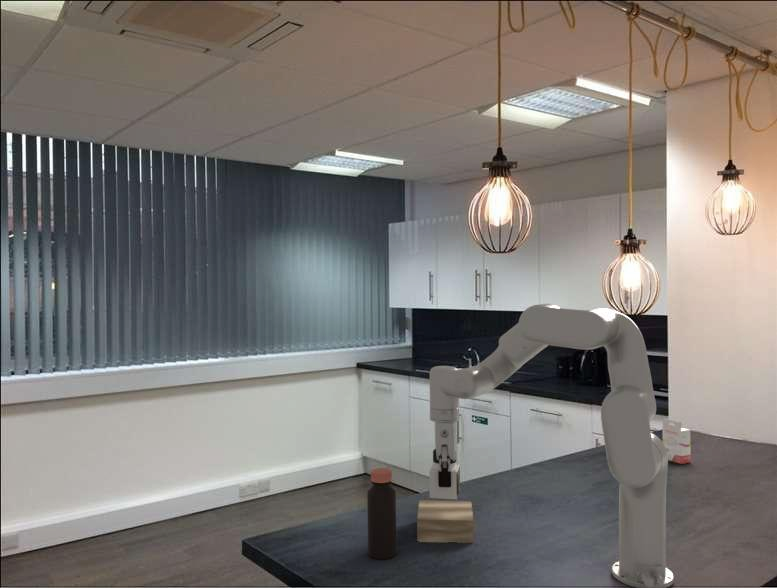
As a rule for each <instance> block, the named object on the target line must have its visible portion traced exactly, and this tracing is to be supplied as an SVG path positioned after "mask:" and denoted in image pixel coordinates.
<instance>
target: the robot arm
mask: <svg viewBox="0 0 777 588" xmlns="http://www.w3.org/2000/svg"><path fill="white" fill-rule="evenodd" d="M518 319H519V320H518V323H516V324H515V325H514V326H512V327H511V328H510V329H509V330H508V331H506V332H505V333H504V334H502V335H501V336H500V337H499V339H498V347H497V348H496V349H495V350H494V351H493V352H492V353H491V354H490V355H488V356H487V357H486V358H485V359H484V360H482V361H481V362H480V363H478V364H477V365H474V366H469V367H465V368H461V369H458V368H457V367H455V366H451V365H450V366H449V365H437V366H434V367H433V366H432V367H431V369H430V370H429V420H430V421H431V422H433V423H434V445H435V447H434V448H435V449H436V456H437V460H438V461H439V471H438V486H439V487H451V471H450V459H451V460H453V461H455V460H456V461H457V449H456V447H457V446H456V444H457V443H456V442H457V441H456V440H457V439H456V436H457V435H456V432H457V431H456V423H457V422H458V421H460V399H462V400H471V399H474V398H478V397H479V396H482V395H484V394H487V393H489V392H491V391H493V390H494V389H495V388H497V387H498V386H499V385H500V384H502V383H503V382H504V381H506V380H507V379H509V378H510V377H511V376H512V375H513V374H515V373H516V372H517V371H518V370H520V369H521V368H522V366H523V365H525V364H526V363H527V362H528V361H530V360H531V359H532V358H534V357H535V356H536V355H538V354H539V353H540V352H541V351H543V350H544V349H545V348H547V347H548V346H553V347H561V348H568V349H576V350H590V351H591V350H595V349H598V348H602V347H604V348H605V350H606V353H607V370H608V373H609V374H608V375H609V382H610V392H609V393H607V395H606V396H605V398H604V399H603V401H602V403H601V408H600V409H601V410H600V421H601V428H602V434H603V440H604V447H605V454H606V461H607V465H608V468H609V471H610V473H611V475H612V476H613V478H614V479H615V480H616V481H617V482H618V483H619V490H618V491H619V492H618V498H619V499H618V545H619V547H618V548H619V549H618V559H619V560H618V561H617V562H615V563H614V564H612V566H611V574H612V576H613V577H614V578H615V579H617V581H619V582H620V583H622V584H624V585H627V586H630V587H633V588H669V587H671V586H672V585H673V584H674V581H675V580H674V579H675V578H674V577H675V576H674V574H673V572H672V571H671V570H670V569H668V567H667V551H666V550H667V542H666V541H667V537H666V536H667V535H666V532H667V527H666V526H667V525H666V524H667V514H666V513H667V479H668V465H669V460H668V455H667V450H666V448H665V445H664V444H663V440H662V439H661V438H660V437H659V436H657V435H656V434H655V433H653V432H651V431H652V430H651V423H650V422H651V421H652V420H653V419H654V417H655V416H656V413H657V402H656V401H657V400H656V398H655V393H654V387H653V380H652V375H651V368H650V364H649V358H648V353H647V351H648V350H647V348H646V343H645V340H644V336H643V334H642V332H641V330H640V328H639V327H638V325H637V324H636V323H635V321H633V320H632V319H631V318H630V317H629V316H627V315H625V314H624V313H621V312H619V311H617V310H613V309H610V308H603V307H598V308H591V309H586V310H584V309H583V310H582V309H571V308H561V307H559V306H558V305H556V304H553V303H541V304H535V305H531V306H528V307H527V308H525V310H523V312H522V313H521V314H520V317H519V318H518ZM448 454H449V459H447V457H448ZM441 457H442V459H441ZM441 462H442V463H441ZM447 462H448V463H447Z"/></svg>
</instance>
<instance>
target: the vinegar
mask: <svg viewBox="0 0 777 588" xmlns="http://www.w3.org/2000/svg"><path fill="white" fill-rule="evenodd" d="M370 481H371V484H372V486H371V487H370V488H369V489H368V490H367V493H366V495H367V496H366V497H367V498H366V499H367V500H366V501H367V554H368V556H370V557H371V558H372V559H375V560H388V559H391V558H394V556H396V554H397V513H396V512H397V498H396V497H397V496H396V495H397V494H396V493H397V492H396V489H394V488H393V487H392V485H391V484H392V470H391V469H390V468H381V467H379V468H374V469H371V471H370Z"/></svg>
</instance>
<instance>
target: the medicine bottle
mask: <svg viewBox="0 0 777 588" xmlns="http://www.w3.org/2000/svg"><path fill="white" fill-rule="evenodd" d="M441 459H442V457H441ZM447 459H449V454H448V457H447ZM432 462H433V463H432V465H431V467H430V469H429V472H428V473H429V498H430V499H442V500H458V497H459V494H460V492H461V491H460V490H461V474H460V473H461V472H460V471H461V469H460V467H461V465H460V464H459V463H458V464H457V459H456V460H455V461H453V460H451V459H450V471H451V487H439V486H438V471H439V461H438V460H437V456H436V448H434V449H433V451H432ZM441 463H442V462H441ZM447 463H448V462H447Z"/></svg>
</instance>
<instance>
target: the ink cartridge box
mask: <svg viewBox="0 0 777 588" xmlns="http://www.w3.org/2000/svg"><path fill="white" fill-rule="evenodd" d="M671 424H674V425H671ZM662 442H663V444H664V445H665V448H666V450H667V455H668V462H673V463H677V464H679V465H683V464H690V463H691V460H692V459H691V458H692V457H691V453H692V452H691V450H692V449H691V446H692V445H691V429H688V428H685V427H684V428H683V427H682V422H681V421H677V420H673V419H669V418H663V419H662Z"/></svg>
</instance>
